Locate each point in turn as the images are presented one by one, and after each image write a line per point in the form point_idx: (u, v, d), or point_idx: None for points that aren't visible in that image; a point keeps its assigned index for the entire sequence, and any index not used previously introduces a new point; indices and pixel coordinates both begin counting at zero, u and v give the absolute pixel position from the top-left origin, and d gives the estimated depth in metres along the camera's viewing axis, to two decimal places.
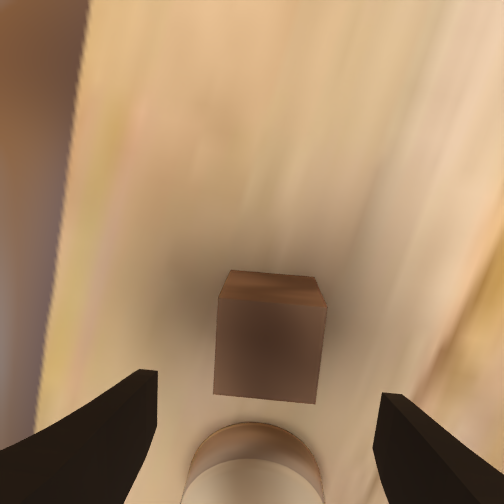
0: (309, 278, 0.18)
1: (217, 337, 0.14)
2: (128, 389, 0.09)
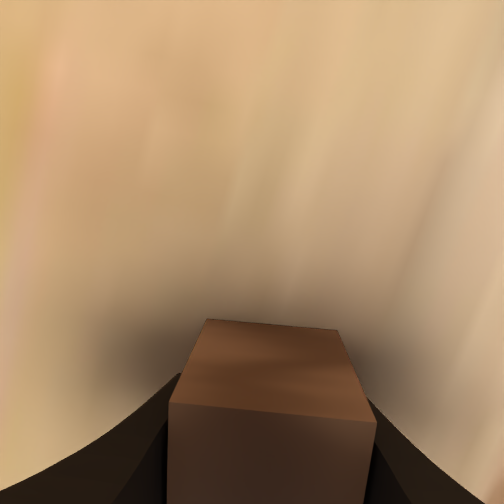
0: (330, 335, 0.11)
1: (170, 469, 0.08)
2: None
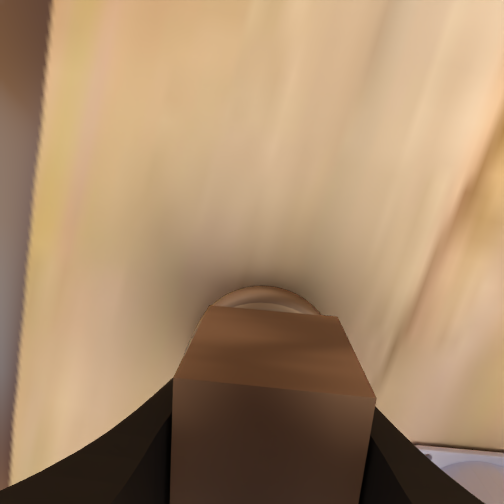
0: (331, 321, 0.11)
1: (174, 445, 0.08)
2: None
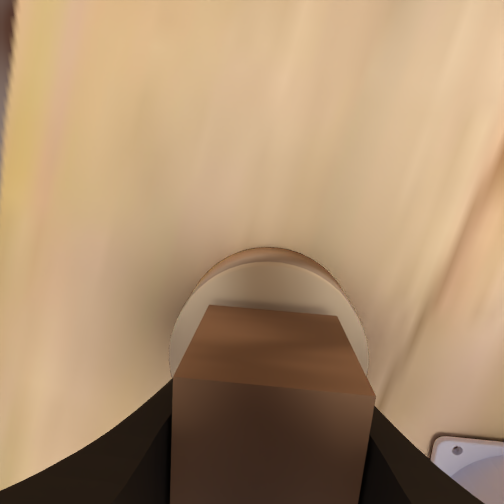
0: (330, 320, 0.11)
1: (174, 444, 0.08)
2: None
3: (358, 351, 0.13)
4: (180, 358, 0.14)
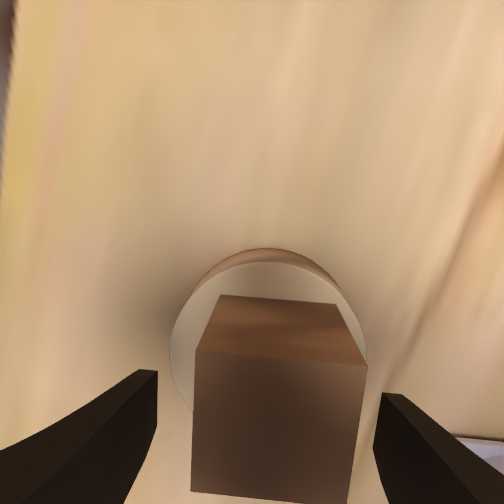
0: (330, 307, 0.13)
1: (195, 409, 0.09)
2: (128, 389, 0.09)
3: None
4: (180, 356, 0.14)
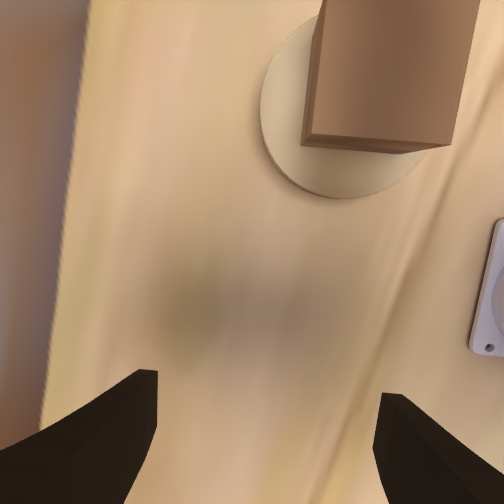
0: None
1: (324, 41, 0.11)
2: (128, 389, 0.09)
3: None
4: (270, 103, 0.15)
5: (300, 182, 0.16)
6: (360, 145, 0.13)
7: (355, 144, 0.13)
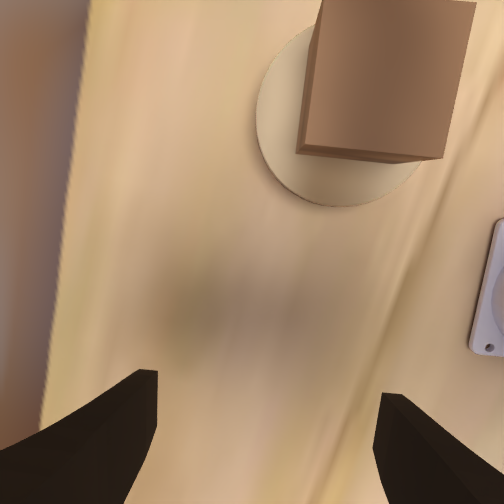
0: None
1: (319, 53, 0.11)
2: (128, 389, 0.09)
3: None
4: (266, 110, 0.15)
5: (294, 189, 0.16)
6: (354, 155, 0.13)
7: (349, 154, 0.13)
